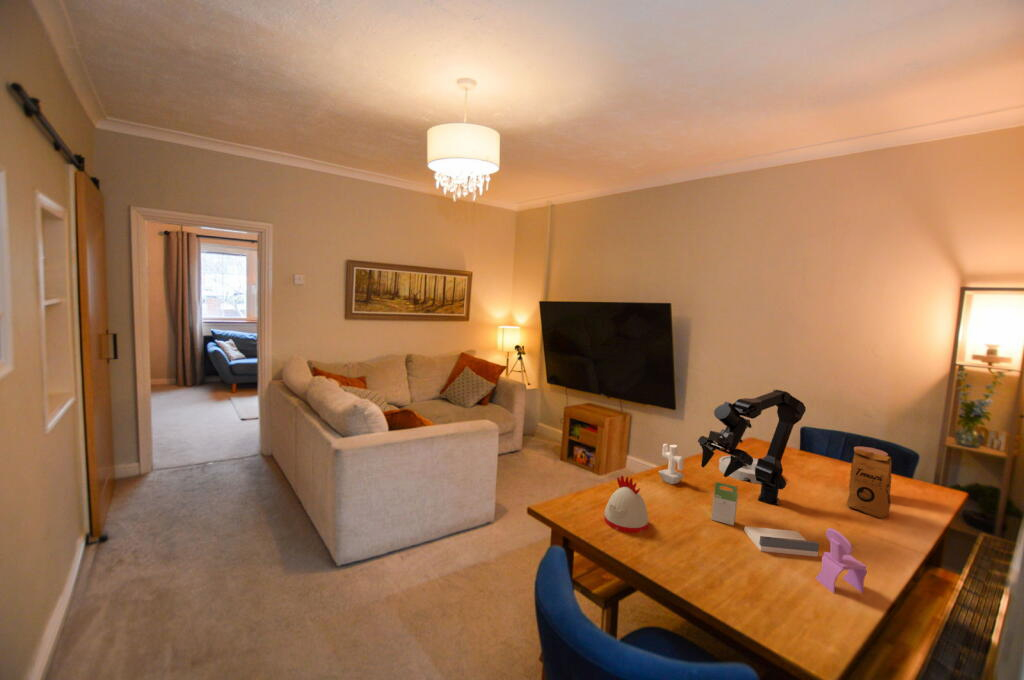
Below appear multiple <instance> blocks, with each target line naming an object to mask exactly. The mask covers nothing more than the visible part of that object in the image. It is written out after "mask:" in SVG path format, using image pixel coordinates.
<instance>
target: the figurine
mask: <svg viewBox="0 0 1024 680" xmlns="http://www.w3.org/2000/svg"><path fill="white" fill-rule="evenodd" d="M678 452H679V451H678V445H677V444H670V445H669V444H668V443H663V445H662V454H661V455H662V457H663V458H664V459H667V460H668V466H667V468H665V469H662V470H658V474H659V476H660V478H661V480H662V482H665V483H667V484H670V485H675V484H679V483H680V482H681V480H682V479H683V477H684V476H685V474H684V473H682V472H679V471H683V469H684V458H683V456H680V455H678ZM676 466H677V467H676ZM676 468H677V470H676Z"/></svg>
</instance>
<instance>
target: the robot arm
mask: <svg viewBox="0 0 1024 680" xmlns="http://www.w3.org/2000/svg"><path fill="white" fill-rule="evenodd" d="M775 406H776V407H777V409H776V413H777V414H776V415H777V417H778V422H777V425H776V426H775V431H774V432H773V436H772V439H771V441H770V444H769V447H768V450H767V452H766V454H765V456H764V457H763V458H762V457H759V458H757V459H758V462H757V465H756V466H755V476H756V481H759V482H761V483H762V484H761V485H760V486H761V487H760V493H759V495H758V498H757V501H760V502H762V503H763V502H764V503H768V504H772V505H775V506H778V505H779V503H780V502H779V501H780V498H779V490H784V488H786V485H787V481H786V479H785V477H784V476H783V472H784V469H783V464H782V459H783V456H784V453H785V450H786V447H787V445H788V441H789V439H790V437H791V434H792V431H793V429H794V425H796V424H798V423H799V422H800V421H801V420H802V418H803V416H804V414H805V413H806V411H807V409H806V406H805V404H804V402H803V401H801V400H799V399H798V398H796V397H794V396H792V394H791V393H790V392H788V391H785V390H781V389H773V391H771V392H768V393H765V394H763V395H762V394H761V395H760V396H757V397H753V398H747V397H746V398H739V399H737V400H735V402H733V403H731V402H729V401H728V402H727V401H724V403H723V404H720V405H717V407H715V409H714V411H713V415H714V417H715V418H716V419H717V420H718V421H719V422H721V423H722V424H723V425H724V426H725V429H721V430H720V432H718V431H715V430H709V433H708V434H709V435H708V436H703V435H702V436H700V437H699V438H698V439H697V442H698V443H699V446H700V447H701V449H702V457H701V467H702V468H705V467H706V466H707V464H709V462H710V460H711V459H712V458H713V456H714V455H715V452H714V451H719V452H722V453H723V454H727V455H728V456H731V458H730V463H729V465H728V467H727V469H726V471H725V473H723V477H724V478H728V477H730V476H729V475H730V474H732V473H733V472H735V471H736V470H738V469H740V468H742V467H744V466H745V467H746V466H747V465H749V466H751V465H752V463H753V458H754V457H753V456H751V455H750V454H749V453H748V452H747V451H745V450H743V449H739V448H737V447H738V445H739V443H740V444H742V443H743V441H744V440H743V439H742V438H743V436H744V434H745V432H746V430H747V428H749V429H752V423H751V420H750V419H752V420H753V419H756V418H757V417H759V416H761V414H762V412H763V411H765V410H767V409H770V408H772V407H775ZM747 418H748V419H747ZM734 456H735V457H734ZM746 464H747V465H746Z"/></svg>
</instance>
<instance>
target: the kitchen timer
mask: <svg viewBox="0 0 1024 680" xmlns="http://www.w3.org/2000/svg"><path fill="white" fill-rule="evenodd" d="M616 480H617V485H618V487H619V488H618V489H616V490H615V491H613V493H612V494H611V496H610V497H609V500H608V502H607V504H606V507H605V510H604V516H603V520H604V522H605V524H607V526H609V527H610V528H611V529H614V530H616V531H619V532H624V533H631V534H635V533H636V534H637V533H642V532H644V531H646V530H647V529H648V527H649V516H648V515H649V514H648V510H647V506H646V503H645V500H644V499H643V497H642V495H641V494H640V493H639V492H640V491H641V487H640V488H638V489H636V487H637V484H638V483H637V482H635V483H633V478H632V477H631V478H630V479H629V476H626V477H625V478H624V475H620V477H616Z"/></svg>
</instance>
